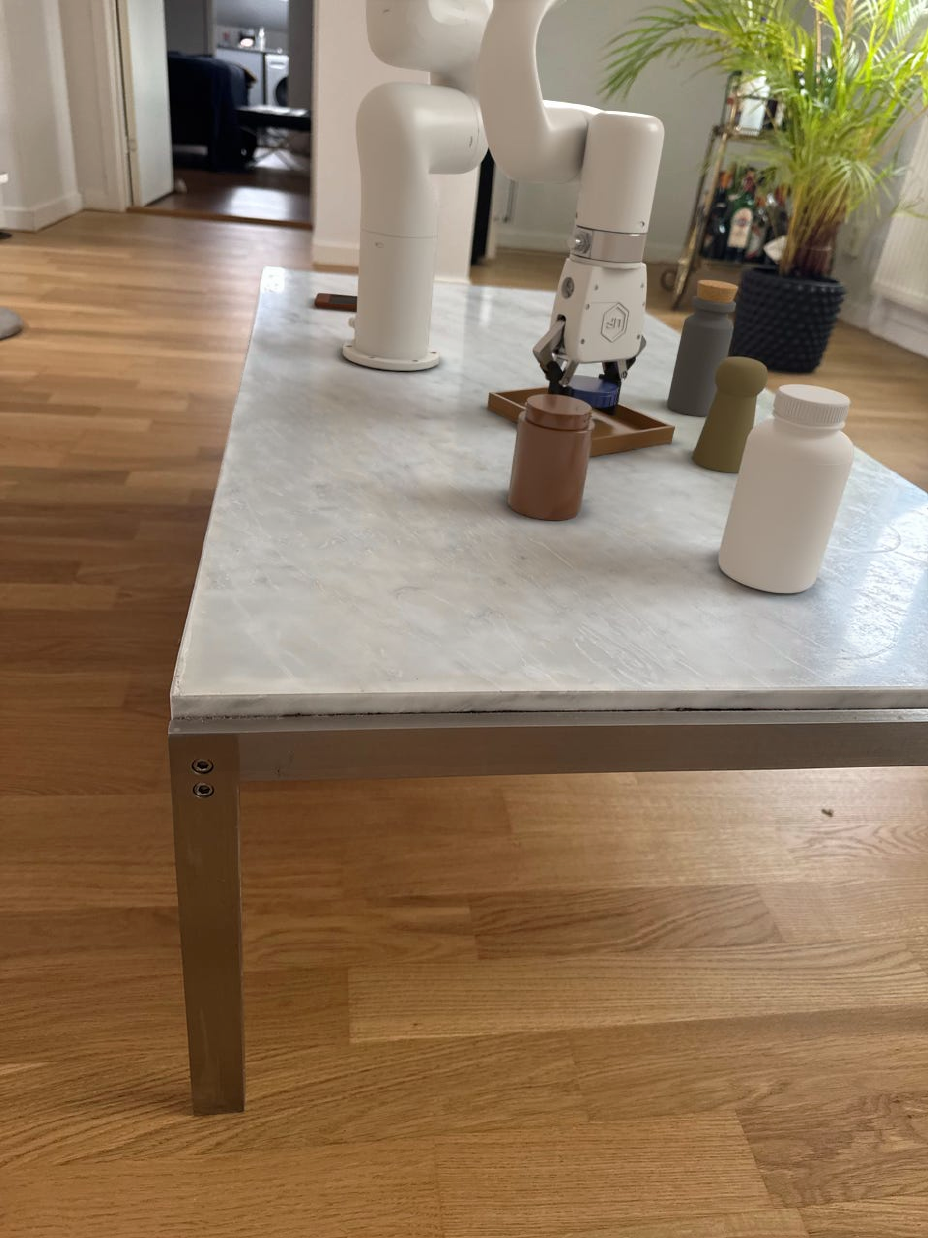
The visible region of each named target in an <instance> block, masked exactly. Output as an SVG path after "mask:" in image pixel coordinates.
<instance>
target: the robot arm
mask: <svg viewBox="0 0 928 1238" xmlns="http://www.w3.org/2000/svg"><path fill="white" fill-rule="evenodd" d="M567 1H568V0H492V10H491V11H490V8H489V6H488V4H487V2H486V0H365V20H366V22H365V23H366V33H367V40H368V44H369V48H370V50H371V52H372V53H373V55H374V56H375V58H376V59H378V61H380V62H383V64H386V65H388V66H391V67H394V68H399V69H405V70H412V71H419V72H427V73H429V81H430V84H429V83H422V82H421V83H420V82H412V81H390V82H384V83H381V84H378V85H377V86H375V87H373V88H372V89H371V90H369V91H368V92H367V93H366V94H365V96H363V98H362V100H361V102H360V104H359V106H358V108H357V112H356V118H355V137H356V138H355V140H356V147H357V155H358V163H359V173H360V219H359V220H360V221H359V228H360V231H359V233H360V234H359V249H358V250H359V251H358V252H359V255H358V273H357V275H358V277H357V295H356V296H357V311H356V314H355V315H354V316H351V317H350V318H349V319H348V321H347V322H348V326H349V327H350V328H352V329H354V333H353V335H354V337H353V339H351V340H348V341H346V342H345V343H344V344H343V345H342V354H343V357H344V358H346V359H347V360H349V361H351V362H352V363H355V364H358V365H361V366H364V367H367V368H373V369H380V370H385V371H386V370H387V371H401V372H402V371H404V372H405V371H411V372H412V371H421V370H422V371H423V370H428V369H432V368H433V367H435V366H437V365H438V364H439V363H440V357H441V355H440V352H439V351H438V350H437V349H436V348H435V347H432V346H431V345H429V344H430V331H431V321H432V308H433V307H432V306H433V296H434V283H435V272H436V260H437V247H438V232H439V207H438V202H437V198H436V194H435V191H434V188H433V184H432V182H431V178H430V175H444V176H445V175H447V176H448V175H462V174H467V173H470V172H472V171H473V170H475V169H476V168H478V167H479V165H480V164H482V162H483V160H484V159H485V157H486V155H487V152H488V150H489V152H490V154H491V157H492V159H493V162H494V163H495V165H496V166H497V168H498V169H499V171H500V172H501V174H503V175H504V176H505V177H507V178H508V179H510V180H511V181H514V182H517V183H520V184H542V185H543V184H548V185H579V189H578V197H577V203H576V210H575V217H574V223H573V231H572V235H569V236H568V237H567V240H566V245H567V248H568V249H569V250H570V252H569V257H568V258H565V262H564V265H563V267H562V271H561V274H560V277H559V281H558V285H557V288H556V292H555V296H554V301H553V306H552V310H551V317H550V323H549V330H548V331H546V333H545V334H544V335H543V336H542V337H541V338H540V339H539V341H538V342H537V343H536V344H535V345H534V346H533V348H532V354H533V356H534V357H535V360H536V361H537V363H538V364H539V368H540V370H541V371H542V372H543V374H544V378H545V380H546V381H549V382H548V386H549V388H548V394H553V395H562V396H568V397H572V391H573V389H572V388H573V387H571V386H569V383H570V381H571V379H572V377H573V375H575V373H576V371H577V368H578V367H579V365H587V364H589V365H590V364H600V363H601V366H602V371H603V373H599V374H598V377H597V378H600V379H604V380H607V381H609V382H612V383H614V384H616V385H617V386H618V396H617V402H616V403H615V404H614V405H613V406H610V407H604V408H595V409H596V410H598V411H601V412H603V413H605V414H607V415H610V416H613V415H616V412H617V406H618V403H619V400H620V395H621V388H622V385H623V384H622V383H623V381H625V380H626V379H627V378H628V376H629V375H628V374H629V370H630V369H631V367H633V365H634V364H635V363H636V361H637V358H638V357H639V356H640V354H641V353H642V352H643V350H644V349H645V348H646V346H647V340H646V338H645V337H644V335H643V330H644V329H643V328H644V322H645V321H644V320H645V313H646V304H647V288H648V287H647V285H648V283H647V282H648V277H647V276H648V273H647V271H648V270H647V264H646V263H644V262H643V259H644V254H645V248H646V243H647V237H648V232H649V225H650V219H651V215H652V210H653V203H654V198H655V194H656V193H655V192H656V188H657V187H656V186H657V181H658V175H659V170H660V165H661V158H662V153H663V148H664V141H665V126H664V124H663V122H662V120H661V119H660V118H658V117H656V116H654V115H649V114H642V113H635V112H627V111H617V110H616V111H615V110H602V109H599V108H597V107H593V106H589V105H585V104H578V103H569V102H564V101H556V100H547V99H544V97H543V93H542V88H541V82H540V76H539V71H538V62H537V40H538V34H539V31H540V30H539V29H540V26H541V24H542V22H543V19H544V17H545V16H546V15H549V14H550V13H552V12H554V11H555V10H557V9H558V8H560V7H561V6H563V5H564V4H566V2H567ZM564 362H566V364H565V366H564V368H563V369H562V366H563V364H564Z"/></svg>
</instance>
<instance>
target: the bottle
mask: <svg viewBox="0 0 928 1238" xmlns="http://www.w3.org/2000/svg"><path fill="white" fill-rule="evenodd" d="M696 284H697V286H696V287H697V288H696V289H697V290H696V291H697V292H696V295H694V296H692V299H691V301H690V302H691V303H690V304H691V306H692V307H693V308H694V312H693V314H690V315H688V316H687V317H685V319H684V322H683V325H682V330H681V335H680V338H679V345H678V348H677V353H676V358H675V363H674V367H673V371H672V377H671V382H670V386H669V391H668V396H667V401H666V406H667V407H668V408H669V409H670V410H672V411H674V412H676V413H680V414H683V415H687V416H695V417H707V415H708V412H709V410H710V407H711V404H712V402H713V399H714V396H715V394H716V391H717V389H718V388H717V386H716V383H715V373H716V369H717V367H718V365H719V363H720V362H721V361H722V360H723V359H725V358H728V354H729V350H730V345H731V341H732V337H733V332H734V329H735V328H734V327H735V326H734V324H733V323H732V322H731V321H730V320H729V314H731V313H734V312H735V311H736V306H737V303H736V302H735V301H734V298H735V296H736V294H737V292H738V289H739V286H738V285H736V284H733V283H731V282H727V281H721V280H714V279H700V280H698V281H697V283H696Z"/></svg>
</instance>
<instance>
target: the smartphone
mask: <svg viewBox="0 0 928 1238" xmlns="http://www.w3.org/2000/svg"><path fill="white" fill-rule="evenodd" d="M313 305H314V307H316V308H323V309H334V310H344V311H355V312H357V295H348V294H338V293H337V294H336V293H327V292H326V293H325V292H318V293H317V294H316V297H315V300H314V303H313Z"/></svg>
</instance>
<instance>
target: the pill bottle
mask: <svg viewBox="0 0 928 1238" xmlns="http://www.w3.org/2000/svg"><path fill="white" fill-rule="evenodd" d="M772 407H773V408H772V411H771V415H772V417H770V418H767V419H764V420H762V421H760V422H758V423H757V424H755V426H753V429H752V430H751V432H750V434H749V435H748V438H747V442H746V445H745V449H744V454H743V458H742V462H741V466H740V470H739V473H738V474H737V478H736V482H735V486H734V490H733V493H732V494H733V495H732V498H731V503H730V507H729V510H728V514H727V518H726V521H725V525H724V526H725V527H724V531H723V534H722V537H721V538H722V539H721V542H720V547H719V550H718V559H717V560H718V561H717V562H718V566H719V568H720V570H721V571H722V572H723V573H724V574H725V575H726V576H727V577H729V578H730V579H732V580H734V581H735V582H738V583H740V584H742V585H744V586H747V587H750V588H752V589H755V590H759V591H762V592H763V591H764V592H768V593H776V594H795V593H801V592H804V591H806V590H809V589H810V588H811V587H812V586H813V585H814V584H815V582H816V580H817V578H818V575H819V573H820V570H821V566H822V564H823V560H824V557H825V553H826V551H827V547H828V544H829V540H830V537H831V534H832V531H833V527H834V524H835V521H836V517H837V514H838V511H839V508H840V505H841V502H842V498H843V495H844V492H845V489H846V486H847V483H848V479H849V476H850V472H851V469H852V466H853V463H854V459H855V448H854V444H853V442H852V440H851V439H850V438H849V436H848V435H846V434H845V432H843V431H842V429H844V428H845V426H846V420H847V418H848V414H849V410H850V407H851V400H850V397H848V396H847V395H845V394H844V393H841V392H839V391H836V390H833V389H830V388H826V387H822V386H817V385H812V384H811V385H810V384H799V383H793V384H792V383H790V384H783V385H781V386H779V387H778V388H777V390H776V392H775V396H774V401H773V404H772Z"/></svg>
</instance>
